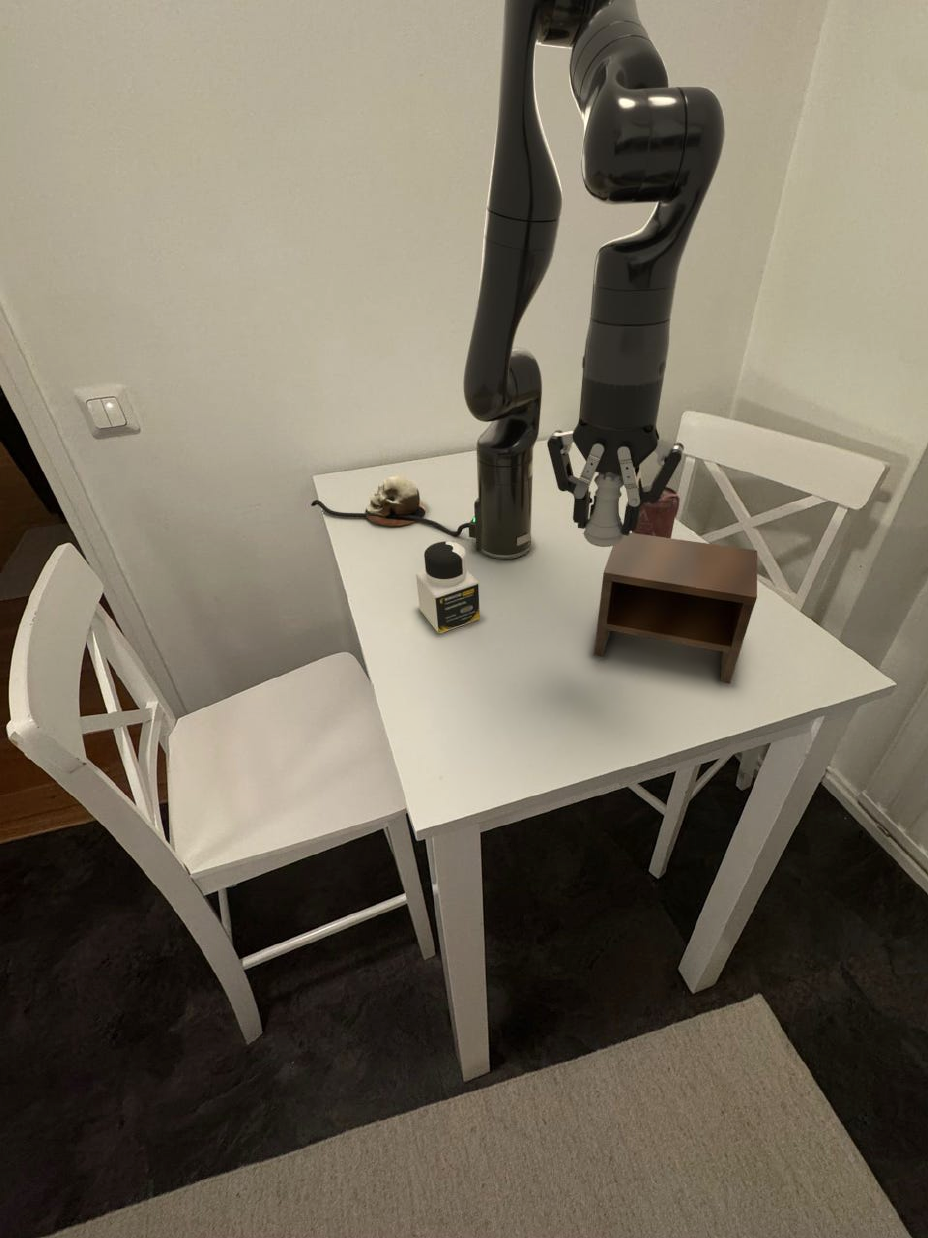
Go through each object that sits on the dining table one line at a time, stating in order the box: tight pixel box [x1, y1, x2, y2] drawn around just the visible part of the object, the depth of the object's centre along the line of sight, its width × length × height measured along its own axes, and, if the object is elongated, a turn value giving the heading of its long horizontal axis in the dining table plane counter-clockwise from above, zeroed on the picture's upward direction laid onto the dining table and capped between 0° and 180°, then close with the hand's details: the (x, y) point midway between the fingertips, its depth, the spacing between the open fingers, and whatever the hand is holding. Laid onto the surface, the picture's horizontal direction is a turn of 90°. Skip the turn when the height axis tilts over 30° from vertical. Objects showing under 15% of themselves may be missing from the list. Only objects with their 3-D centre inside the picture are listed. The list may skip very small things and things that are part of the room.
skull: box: [364, 475, 426, 527], centre depth 120 cm, size 12×10×10 cm
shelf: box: [593, 532, 758, 684], centre depth 82 cm, size 18×11×14 cm, turn 69°
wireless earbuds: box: [589, 495, 596, 517], centre depth 114 cm, size 7×2×5 cm, turn 14°
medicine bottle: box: [415, 541, 481, 634], centre depth 90 cm, size 7×7×12 cm
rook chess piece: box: [583, 472, 624, 548], centre depth 66 cm, size 4×4×8 cm
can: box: [631, 486, 681, 538], centre depth 97 cm, size 6×6×14 cm
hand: (604, 527), depth 67 cm, fingers closed on rook chess piece, 4 cm apart
